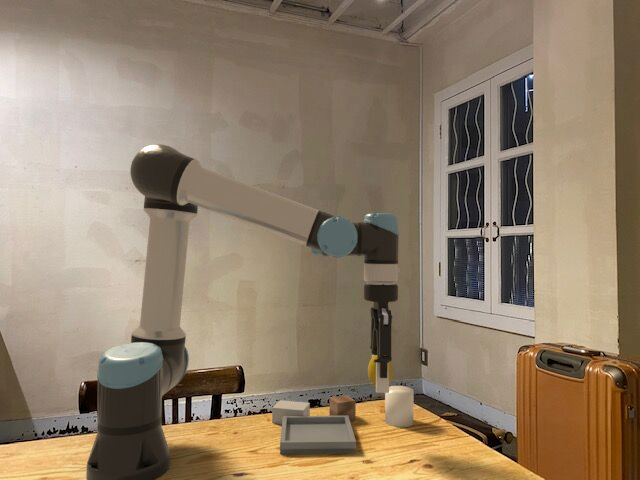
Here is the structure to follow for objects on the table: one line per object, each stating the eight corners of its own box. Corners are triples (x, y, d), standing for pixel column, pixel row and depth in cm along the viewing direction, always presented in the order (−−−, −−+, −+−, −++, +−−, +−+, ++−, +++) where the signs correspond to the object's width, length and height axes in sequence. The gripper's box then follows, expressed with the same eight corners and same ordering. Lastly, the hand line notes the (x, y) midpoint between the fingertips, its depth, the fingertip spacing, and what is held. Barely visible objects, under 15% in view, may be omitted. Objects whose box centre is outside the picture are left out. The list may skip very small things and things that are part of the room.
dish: (280, 454, 100) (280, 442, 100) (282, 426, 116) (282, 416, 116) (355, 453, 101) (355, 441, 101) (348, 425, 117) (348, 415, 117)
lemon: (392, 386, 108) (392, 351, 108) (393, 393, 102) (393, 356, 103) (367, 385, 109) (367, 350, 109) (367, 392, 103) (367, 355, 103)
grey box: (272, 423, 118) (272, 407, 118) (279, 415, 124) (280, 400, 124) (303, 426, 116) (303, 410, 116) (309, 418, 122) (309, 402, 122)
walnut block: (337, 423, 118) (337, 403, 119) (329, 416, 123) (329, 397, 123) (355, 420, 120) (355, 400, 121) (346, 414, 125) (346, 395, 125)
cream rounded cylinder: (387, 427, 116) (387, 394, 116) (382, 417, 123) (383, 385, 123) (416, 427, 116) (416, 393, 116) (409, 417, 123) (409, 385, 123)
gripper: (406, 286, 97) (406, 401, 96) (389, 280, 115) (389, 376, 115) (370, 286, 97) (369, 401, 96) (359, 280, 115) (358, 376, 115)
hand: (380, 387), depth 106 cm, fingers closed on lemon, 5 cm apart
